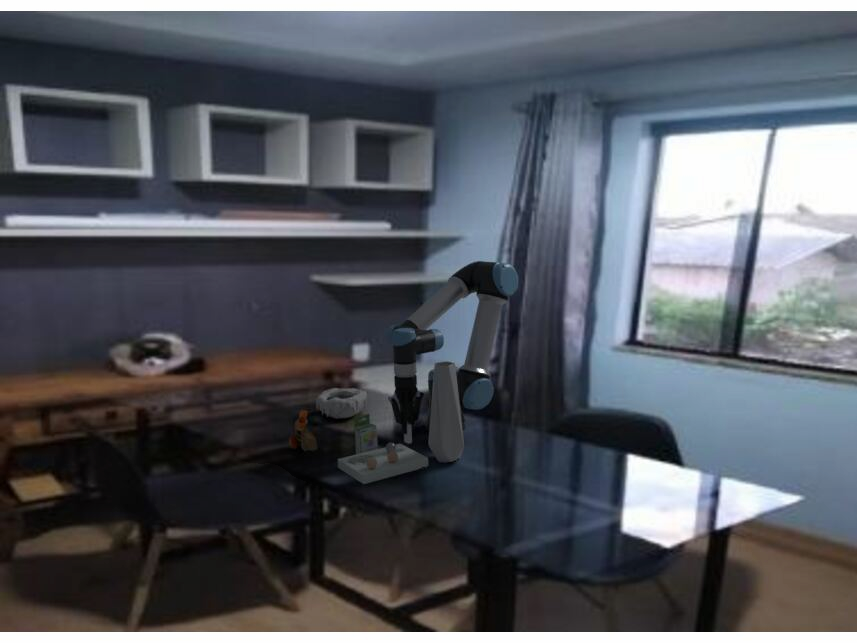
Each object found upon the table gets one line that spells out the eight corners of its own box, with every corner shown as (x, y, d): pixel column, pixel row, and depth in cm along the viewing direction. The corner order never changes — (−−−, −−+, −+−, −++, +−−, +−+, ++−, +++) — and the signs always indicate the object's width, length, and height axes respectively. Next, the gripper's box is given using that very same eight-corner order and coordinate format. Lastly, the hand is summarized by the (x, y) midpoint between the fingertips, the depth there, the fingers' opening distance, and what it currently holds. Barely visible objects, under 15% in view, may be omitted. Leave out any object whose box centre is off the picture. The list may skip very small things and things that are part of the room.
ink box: (362, 457, 267) (359, 420, 264) (355, 454, 270) (353, 417, 267) (378, 452, 271) (376, 415, 269) (371, 449, 274) (369, 413, 272)
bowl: (365, 423, 304) (364, 398, 302) (313, 425, 305) (311, 400, 303) (370, 407, 325) (368, 384, 323) (321, 409, 325) (319, 386, 323)
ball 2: (394, 459, 255) (394, 449, 254) (400, 462, 252) (399, 452, 252) (385, 461, 253) (384, 451, 253) (390, 464, 250) (390, 454, 250)
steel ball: (393, 450, 264) (392, 440, 263) (398, 452, 261) (397, 442, 260) (384, 452, 262) (383, 442, 261) (389, 455, 259) (388, 445, 258)
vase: (455, 468, 253) (451, 369, 247) (425, 462, 259) (420, 366, 253) (473, 456, 263) (470, 361, 257) (443, 451, 269) (440, 358, 263)
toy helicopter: (310, 442, 285) (307, 406, 282) (328, 459, 266) (325, 421, 264) (288, 446, 281) (285, 410, 279) (305, 464, 263) (302, 425, 260)
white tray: (400, 451, 271) (400, 443, 270) (428, 466, 256) (428, 457, 255) (338, 467, 258) (337, 459, 258) (363, 484, 243) (363, 475, 243)
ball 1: (374, 465, 250) (373, 455, 250) (379, 468, 248) (378, 458, 247) (364, 467, 249) (363, 457, 248) (369, 471, 246) (369, 460, 245)
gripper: (416, 369, 267) (418, 435, 271) (382, 375, 260) (386, 443, 264) (427, 373, 261) (430, 441, 265) (394, 379, 254) (397, 449, 258)
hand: (408, 442), depth 265 cm, fingers closed
